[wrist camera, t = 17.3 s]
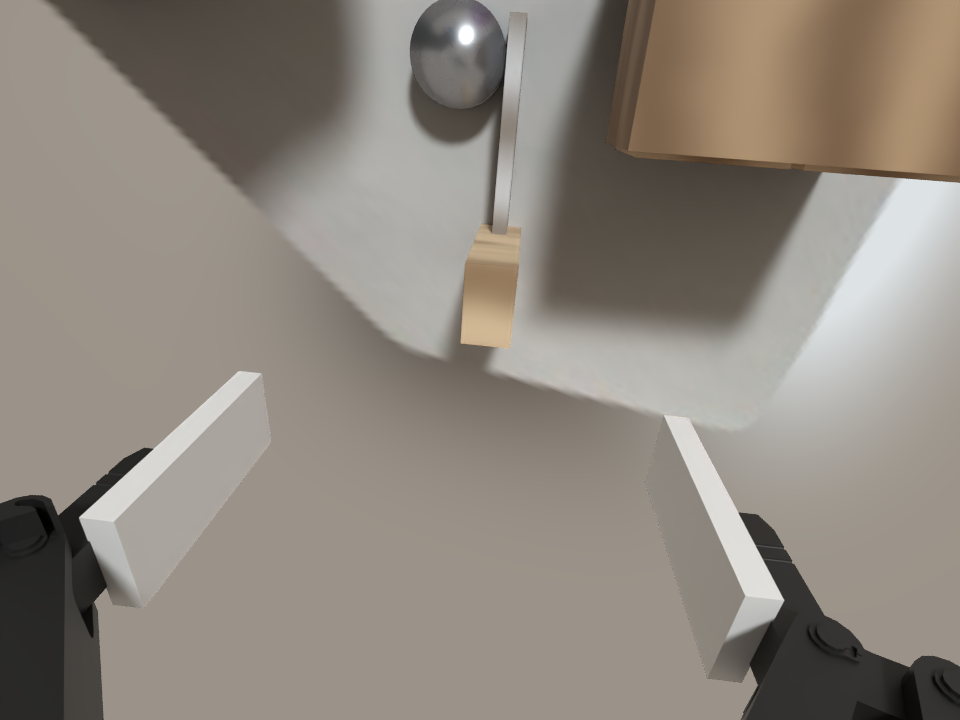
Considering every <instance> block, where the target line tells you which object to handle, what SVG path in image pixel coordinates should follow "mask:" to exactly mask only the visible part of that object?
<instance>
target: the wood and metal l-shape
mask: <svg viewBox="0 0 960 720" xmlns="http://www.w3.org/2000/svg"><path fill="white" fill-rule="evenodd" d="M526 28H527V13H520V12H510V20H509V32H508V44H507V56H506V68H505V81H504V93H503V105H502V117H501V129H500V142H499V154H498V166H497V178H496V191H495V203H494V215H493V225H487V224H481V226H480V228H479V231H478V233H477V236H476V238H475V241H474V243H473V246H472V248H471V250H470V253H469V255H468V258H467V260H466V263H465V278H464V295H463V311H462V328H461V344H471V345H481V346H491V347H501V348H510V342H511V333H512V323H513V314H514V305H515V296H516V287H517V278H518V268H519V250H520V232H521V228H520V227H509V226H508V217H509V206H510V196H511V185H512V175H513V164H514V154H515V143H516V133H517V122H518V112H519V101H520V91H521V80H522V70H523V59H524V49H525V38H526Z"/></svg>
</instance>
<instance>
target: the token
mask: <svg viewBox="0 0 960 720" xmlns="http://www.w3.org/2000/svg"><path fill="white" fill-rule="evenodd" d="M506 56H507V51H506V44H505V41H504V37H503V34H502V31H501V28H500V26H499V24H498V22H497V20H496V19H495V17H494V16H493V14H492V13H491V12H490V11H489V10H488V9H487V8H486V7H485V6H483V5H482V4H481V3H479V2H477V1H475V0H439V1H437V2H435V3H434V4H432V5H431V6H430V7H429V8H427V9H426V11H425V12H424V13H423V14H422V15H421V17H420V18H419V20H418V22H417V24H416V26H415V28H414V31H413V34H412V38H411V44H410V59H411V65H412V70H413V73H414V76H415V78H416V80H417V82H418V84H419V85H420V87H421V88H422V90H423V91H424V92H425V93H426V94H427V95H428V96H429V97H430V98H431V99H432V100H434V101H435V102H437V103H439V104H441V105H443V106H446V107H450V108H458V109H466V108H472V107H475V106H478V105H480V104H482V103H483V102H485V101H486V100H488V99H489V98H490V97H491V96H492V95H493V94H494V93H495V91H496V90H497V89H498V87H499V85H500V83H501V81H502V79H503V76H504V73H505V68H506Z"/></svg>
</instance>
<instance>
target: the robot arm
mask: <svg viewBox="0 0 960 720" xmlns="http://www.w3.org/2000/svg"><path fill="white" fill-rule="evenodd" d="M270 443H271V434H270V428H269V421H268V414H267V407H266V400H265V393H264V387H263V380H262V374H261V373H252V372H242V371H239V372H238V373H236V374H235V375H234V376H233V377H232V378H231V379H230V380H229V381H228V382H227V383H225V384H224V385H223V386H222V387H221V388H220V389H219V390H218V391H217V392H216V393H215V394H214V395H212V396H211V397H210V398H209V399H208V400H207V401H206V402H205V403H204V404H203V405H201V406H200V407H199V408H198V409H197V410H196V411H195V412H194V413H193V414H192V415H191V416H189V417H188V418H187V419H186V420H185V421H184V422H183V423H182V424H181V425H180V426H179V427H178V428H176V429H175V430H174V431H173V432H172V433H171V434H170V435H169V436H168V437H166V438H165V439H164V440H163V441H162V442H161V443H160V444H159V445H158V446H157V447H156V448H154V449H150V448H143V449H141V450H139V451H137V452H135V453H133V454H132V455H130V456H128V457H126V458H124V459H123V460H122V461H120V462H119V463H118V464H117V465H116V466H115V467H114V468H112V469H111V470H110V471H109V473H108V475H104V476H103V477H102V478H101V479H100V480H99V481H97V482H96V485H93V486H92V487H91V488H89V489H88V490H87V491H86V492H85V493H84V494H83V495H81V496H80V497H79V498H78V499H77V500H76V501H75V502H73V503H72V504H71V505H70V506H69V507H68V508H67V509H65V510H64V511H63V512H62V513H61V514H60V515H57V512H56V510H55V507H54V505H53V503H52V500H51V499H50V498H47V497H45V496H43V495H42V496H39V495H29V496H23V497H18V498H14V499H12V500H9V501H6V502H3V503H0V720H104V719H103V701H102V684H101V683H102V682H101V664H100V645H99V626H98V611H97V608H96V606H95V603H94V601H95V600H96V598H98V596H99V595H100V594H101V593H102V592H103V591H104V589H105V588H107V590H108V593H109V596H110V598H111V601H112V603H113V605H121V606H129V607H137V608H145V607H146V605H147V604H148V603H149V602H150V600H151V599H152V598H153V596H154V595H155V594H156V592H157V591H158V590H159V588H160V587H161V586H162V584H163V583H164V582H165V581H166V579H167V578H168V577H169V575H170V574H171V573H172V571H173V570H174V569H175V567H176V566H177V565H178V564H179V562H180V561H181V560H182V558H183V557H184V556H185V554H186V553H187V552H188V550H189V549H190V548H191V546H192V545H193V544H194V543H195V541H196V540H197V538H198V537H199V536H200V535H201V533H202V532H203V531H204V529H205V528H206V527H207V525H208V524H209V523H210V522H211V520H212V519H213V518H214V516H215V515H216V514H217V512H218V511H219V510H220V509H221V507H222V506H223V505H224V503H225V502H226V501H227V499H228V498H229V497H230V495H231V494H232V493H233V492H234V490H235V489H236V488H237V486H238V485H239V484H240V482H241V481H242V480H243V478H244V477H245V476H246V474H247V473H248V472H249V471H250V469H251V468H252V466H253V465H254V464H255V463H256V461H257V460H258V459H259V457H260V456H261V455H262V454H263V452H264V451H265V449H266V448H267V447H268V446H269V444H270ZM645 485H646V488H647V491H648V494H649V497H650V501H651V504H652V506H653V510H654V513H655V516H656V519H657V522H658V526H659V528H660V532H661V535H662V538H663V541H664V544H665V547H666V551H667V554H668V557H669V560H670V563H671V566H672V570H673V572H674V576H675V579H676V582H677V585H678V588H679V591H680V594H681V598H682V601H683V604H684V607H685V610H686V613H687V616H688V620H689V623H690V626H691V629H692V632H693V635H694V638H695V642H696V645H697V648H698V651H699V654H700V657H701V660H702V664H703V667H704V670H705V673H706V676H707V678H708V679H716V680H724V681H732V682H740V683H741V682H742V681H743V679H744V677H745V675H746V674H747V671H748V670H749V667H751V669H752V671H753V674H754V677H755V679H756V681H757V684H758V686H757V688H756V690H755V692H754V694H753V695H752V697H751V699H750V701H749V703H748V704H747V706H746V708H745V710H744V712H743V713H744V714H743V716H742V718H741V720H960V667H959V666H958V665H956V664H954V663H952V662H950V661H948V660H945V659H942V658H939V657H935V656H921V657H920V658H918V659H917V660H916V661H914V663H913V664H912V665H911V667H907V666H905V665H902V664H900V663H897V662H894V661H892V660H889V659H886V658H884V657H881V656H879V655H876V654H873V653H871V652H869V651H866V650H865V649H864V648H863V646H862V645H861V643H860V642H859V640H858V639H857V638H856V637H855V636H854V635H853V634H852V633H851V631H849V630H848V629H846V628H845V627H844V626H842V625H841V624H840V623H838V622H837V621H835V620H832V619H831V618H829V617H826V616H825V615H824V614H823V612H822V611H821V609H820V607H819V605H818V604H817V602H816V600H815V599H814V597H813V595H812V594H811V592H810V590H809V589H808V587H807V585H806V583H805V582H804V580H803V579H802V577H801V575H800V573H799V571H798V570H797V568H796V566H795V565H794V564H792V560H791V558H790V556H789V555H788V553H787V551H786V550H784V546H783V544H782V543H781V541H780V539H779V538H778V536H777V534H776V533H775V531H774V530H773V529H772V528H771V527H770V526H769V525H768V524H767V523H766V522H765V521H764V520H763V519H762V518H760V517H759V515H756V514H747V513H738V512H737V510H736V508H735V506H734V504H733V502H732V500H731V498H730V496H729V495H728V493H727V491H726V489H725V487H724V485H723V483H722V481H721V479H720V477H719V475H718V474H717V472H716V470H715V468H714V466H713V464H712V462H711V460H710V459H709V457H708V455H707V453H706V451H705V449H704V447H703V445H702V443H701V441H700V439H699V437H698V436H697V434H696V432H695V430H694V428H693V426H692V424H691V422H690V420H689V418H686V417H676V416H667V415H664V416H663V420H662V423H661V427H660V431H659V434H658V438H657V442H656V445H655V448H654V452H653V455H652V459H651V462H650V466H649V469H648V473H647V476H646V480H645Z"/></svg>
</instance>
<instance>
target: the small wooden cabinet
mask: <svg viewBox="0 0 960 720" xmlns="http://www.w3.org/2000/svg"><path fill="white" fill-rule="evenodd" d="M605 142H606V143H609V144H611V145H614V146H615V149H616V150H618V151H620V152H623V153H625V154H628V155H630V156H633V157H635V158H647V159H660V160H673V161H686V162H699V163H712V164H725V165H738V166H751V167H764V168H777V169H791V168H794V169H798V170H803V171H816V172H829V173H842V174H855V175H868V176H881V177H894V178H906V179H920V180H933V181H946V182H958V183H960V0H629V1H628V7H627V13H626V19H625V25H624V31H623V37H622V43H621V49H620V55H619V62H618V68H617V74H616V80H615V86H614V92H613V98H612V104H611V110H610V117H609V123H608V129H607V135H606V141H605Z"/></svg>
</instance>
